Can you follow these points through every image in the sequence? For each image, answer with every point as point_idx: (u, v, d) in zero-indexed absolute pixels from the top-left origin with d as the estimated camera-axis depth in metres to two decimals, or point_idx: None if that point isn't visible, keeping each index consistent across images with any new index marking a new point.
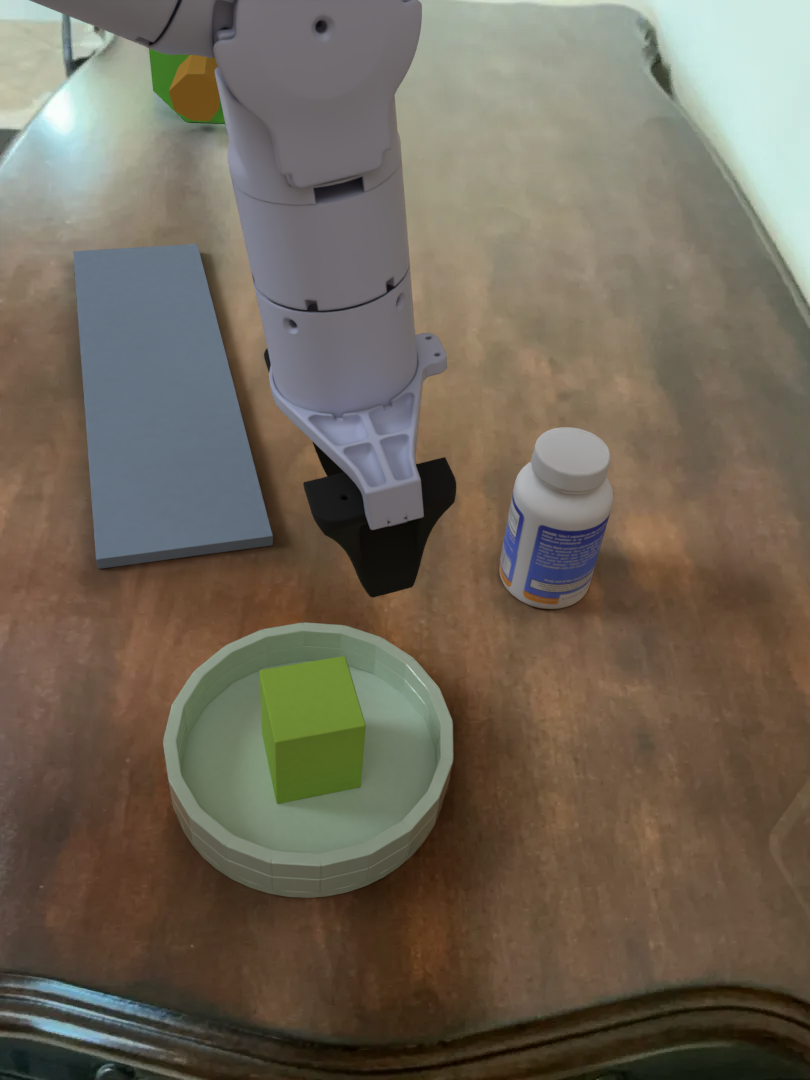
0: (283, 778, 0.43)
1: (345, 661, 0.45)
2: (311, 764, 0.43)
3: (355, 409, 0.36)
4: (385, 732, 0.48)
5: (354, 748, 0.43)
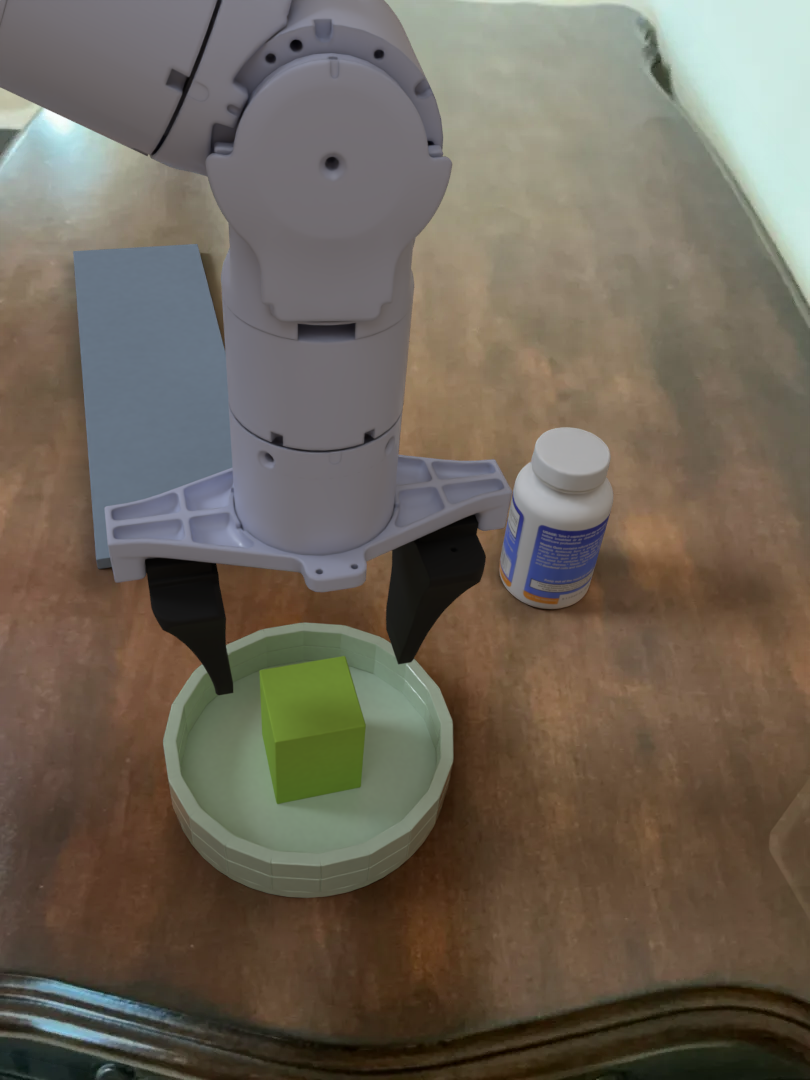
0: (283, 778, 0.43)
1: (345, 661, 0.45)
2: (311, 764, 0.43)
3: (234, 501, 0.34)
4: (385, 732, 0.48)
5: (354, 748, 0.43)
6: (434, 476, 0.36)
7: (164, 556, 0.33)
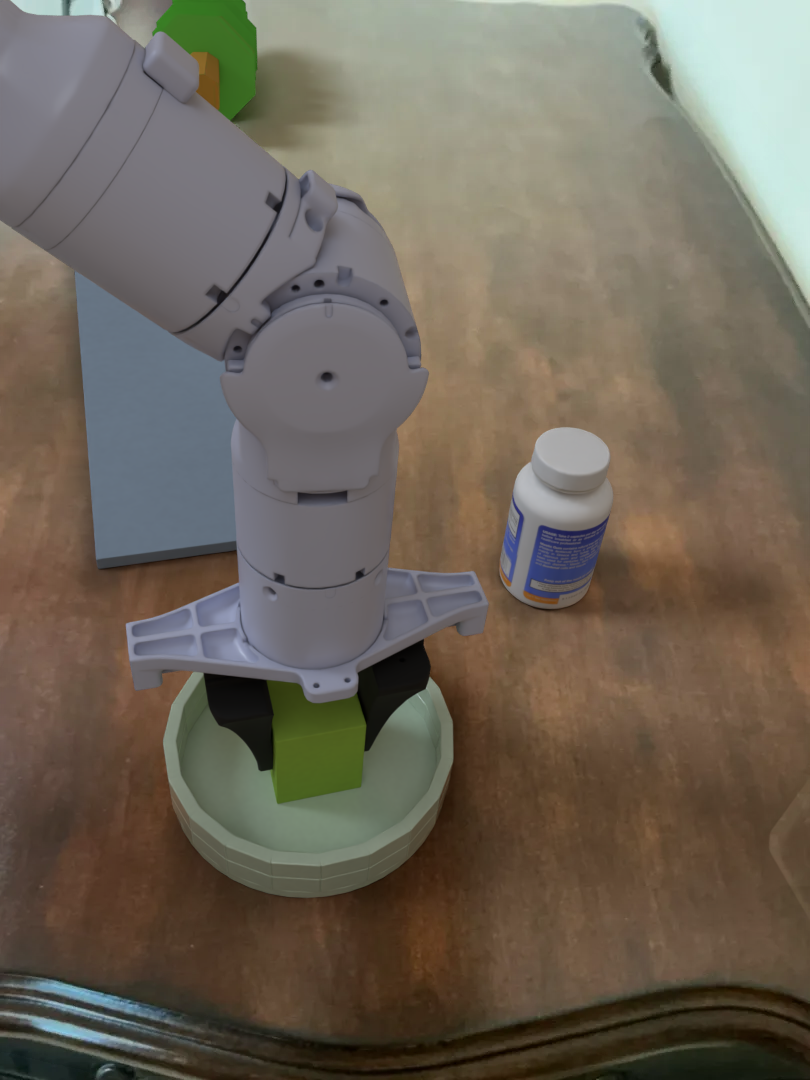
0: (283, 778, 0.43)
1: None
2: (311, 763, 0.43)
3: (241, 617, 0.39)
4: (385, 732, 0.48)
5: (355, 748, 0.43)
6: (419, 589, 0.41)
7: (179, 669, 0.37)
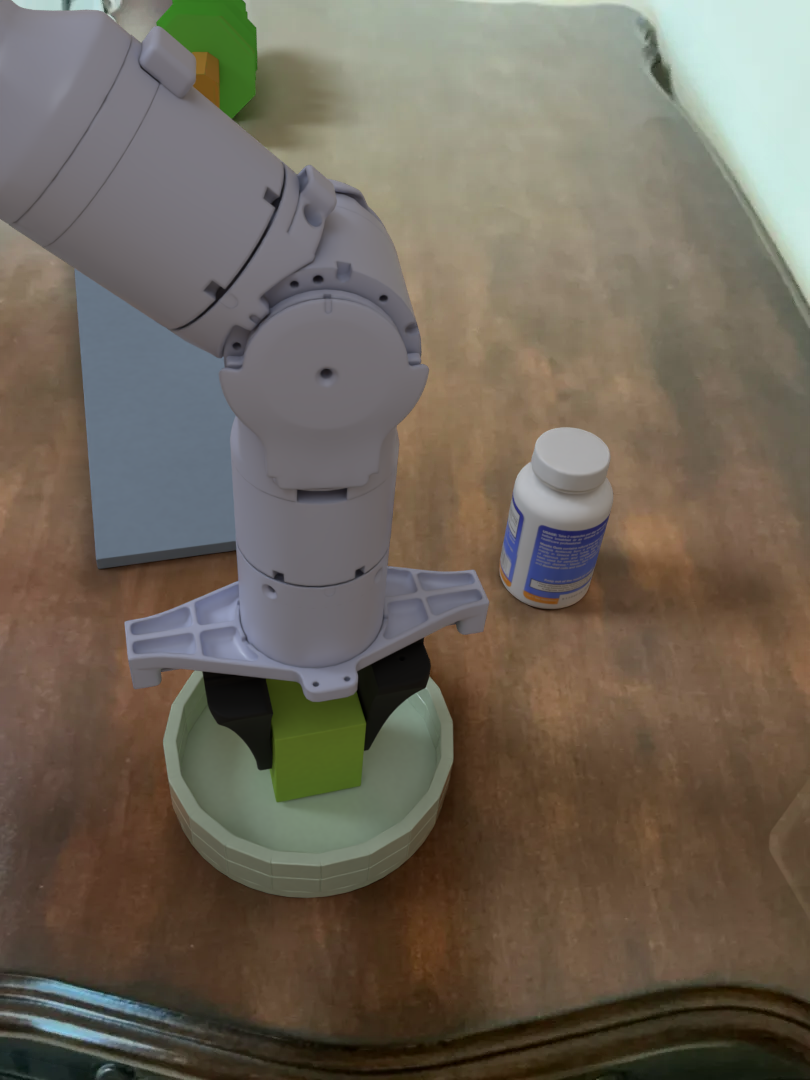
0: (283, 777, 0.43)
1: None
2: (311, 762, 0.43)
3: (240, 615, 0.38)
4: (385, 732, 0.48)
5: (354, 746, 0.43)
6: (419, 587, 0.40)
7: (178, 667, 0.37)
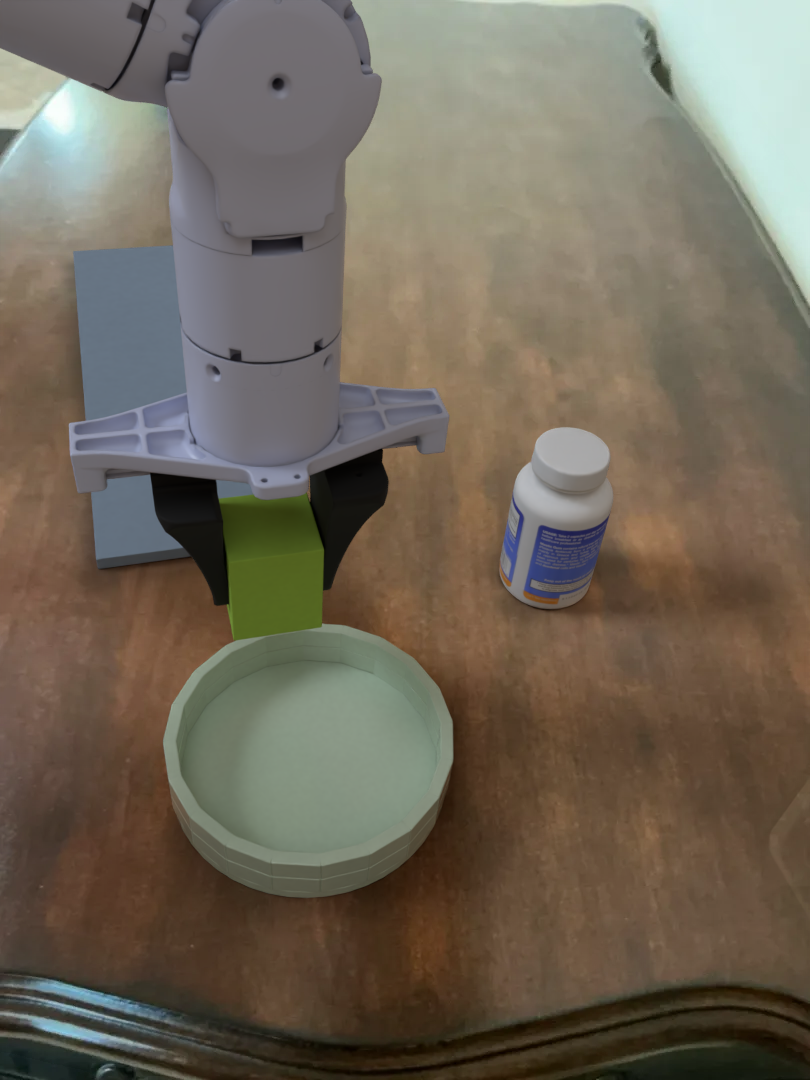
0: (239, 608, 0.42)
1: (305, 493, 0.43)
2: (268, 593, 0.41)
3: (189, 420, 0.37)
4: (385, 732, 0.48)
5: (313, 577, 0.42)
6: (377, 401, 0.39)
7: (123, 467, 0.36)
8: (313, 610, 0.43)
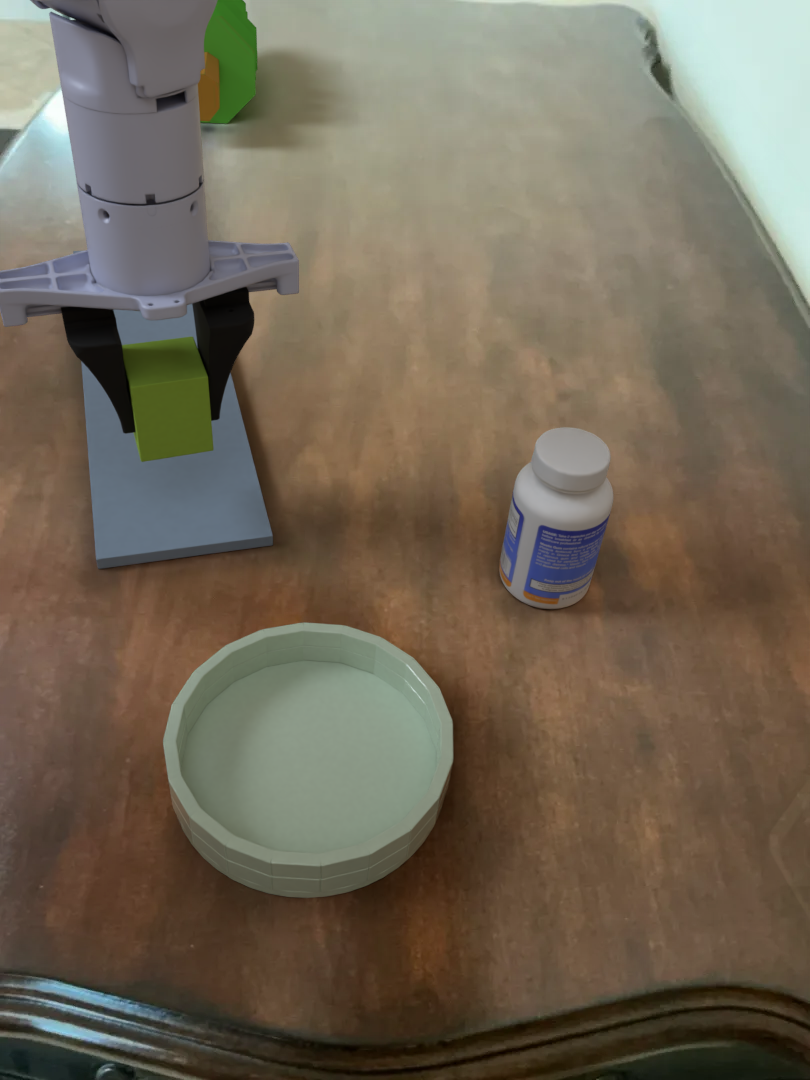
0: (143, 431, 0.52)
1: (192, 339, 0.53)
2: (165, 416, 0.52)
3: (90, 267, 0.47)
4: (385, 732, 0.48)
5: (201, 402, 0.52)
6: (241, 252, 0.49)
7: (38, 302, 0.46)
8: (204, 434, 0.53)
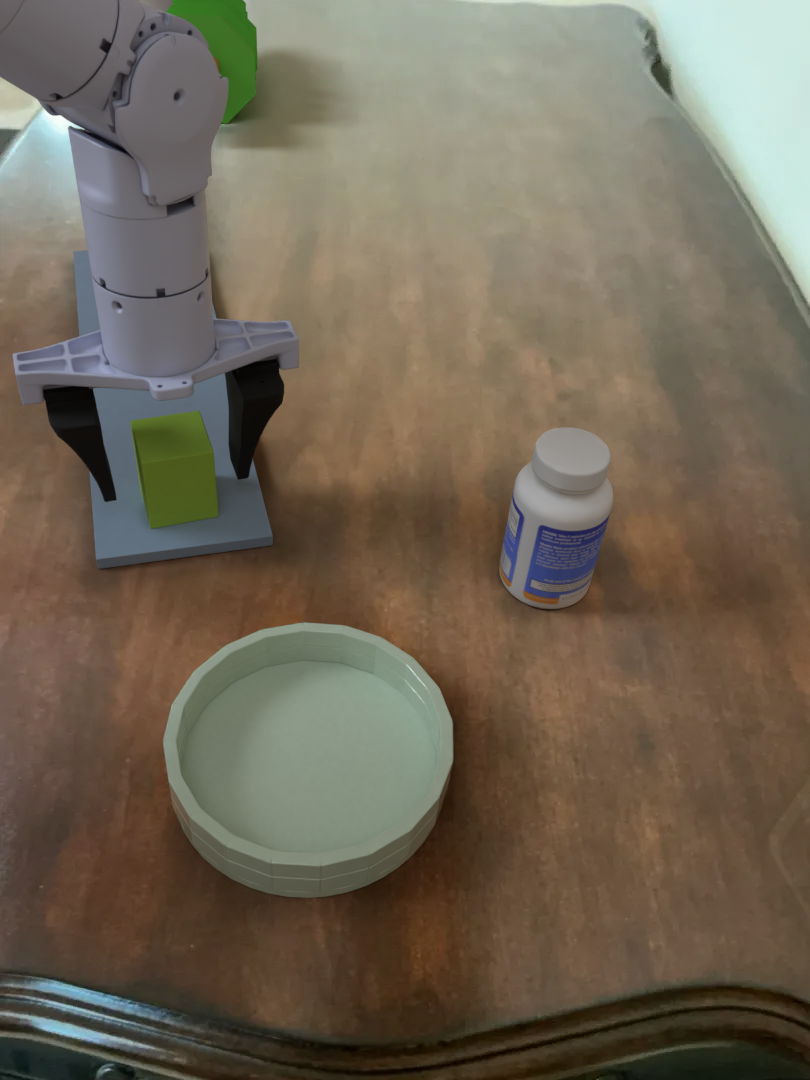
0: (152, 501, 0.55)
1: (199, 413, 0.57)
2: (173, 488, 0.55)
3: (103, 348, 0.50)
4: (385, 732, 0.48)
5: (207, 475, 0.55)
6: (245, 331, 0.52)
7: (55, 383, 0.49)
8: (210, 502, 0.57)
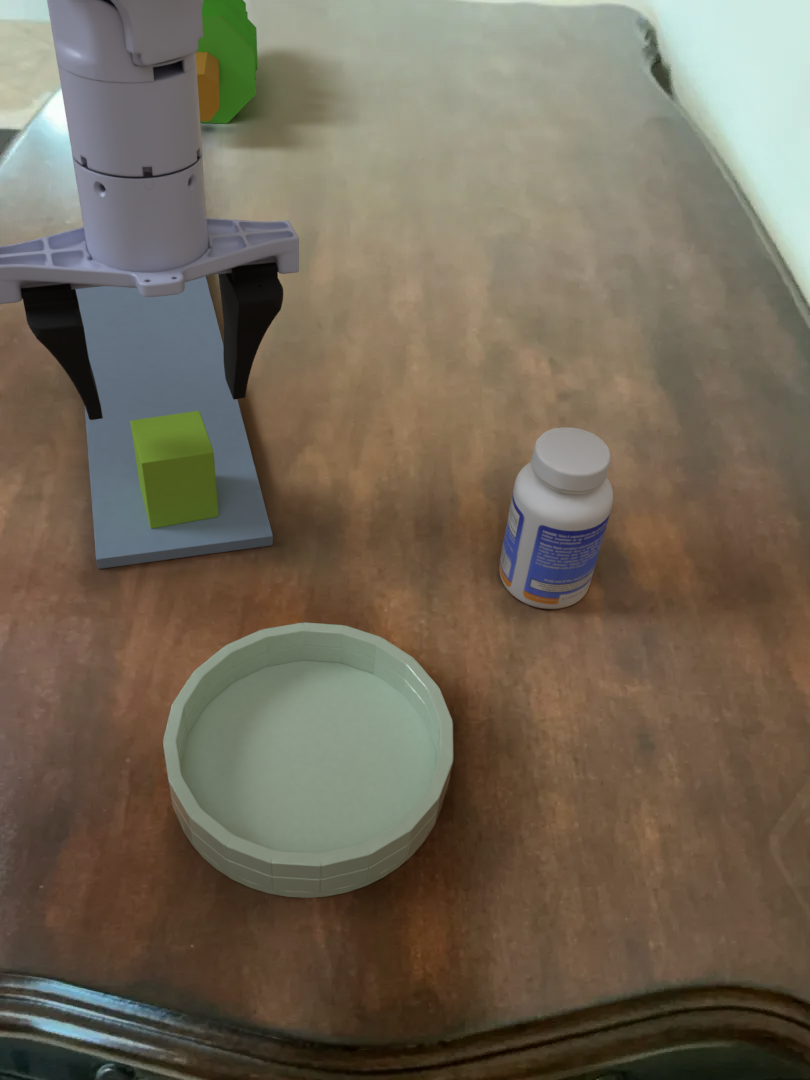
0: (152, 501, 0.55)
1: (199, 413, 0.57)
2: (173, 488, 0.55)
3: (86, 243, 0.46)
4: (385, 732, 0.48)
5: (207, 475, 0.55)
6: (240, 230, 0.48)
7: (33, 279, 0.45)
8: (210, 502, 0.57)
